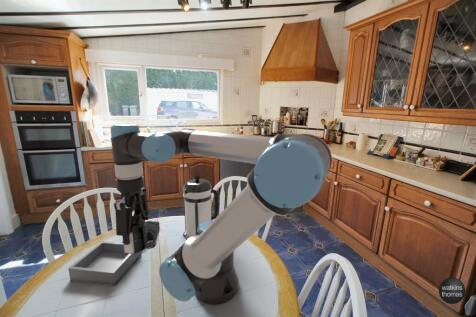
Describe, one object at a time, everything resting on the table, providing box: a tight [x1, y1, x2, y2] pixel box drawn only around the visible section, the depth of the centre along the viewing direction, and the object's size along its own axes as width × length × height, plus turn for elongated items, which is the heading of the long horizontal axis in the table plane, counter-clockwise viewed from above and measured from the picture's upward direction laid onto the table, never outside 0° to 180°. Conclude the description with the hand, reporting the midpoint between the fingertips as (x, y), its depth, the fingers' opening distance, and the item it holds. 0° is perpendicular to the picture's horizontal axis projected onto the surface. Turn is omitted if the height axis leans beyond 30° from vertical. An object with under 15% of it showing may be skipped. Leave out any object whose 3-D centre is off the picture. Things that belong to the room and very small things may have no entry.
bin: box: [68, 240, 142, 287], centre depth 89 cm, size 17×17×5 cm
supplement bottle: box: [130, 210, 149, 254], centre depth 74 cm, size 7×7×12 cm
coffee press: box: [182, 174, 220, 238], centre depth 110 cm, size 17×16×30 cm
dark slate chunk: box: [121, 220, 160, 249], centre depth 111 cm, size 15×22×5 cm
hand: (136, 245), depth 75 cm, fingers closed on supplement bottle, 7 cm apart
